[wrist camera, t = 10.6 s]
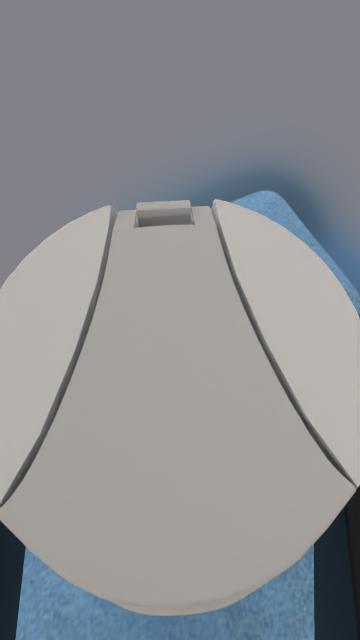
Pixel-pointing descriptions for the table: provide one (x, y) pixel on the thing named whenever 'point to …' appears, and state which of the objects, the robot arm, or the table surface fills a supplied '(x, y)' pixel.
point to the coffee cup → (175, 403)
